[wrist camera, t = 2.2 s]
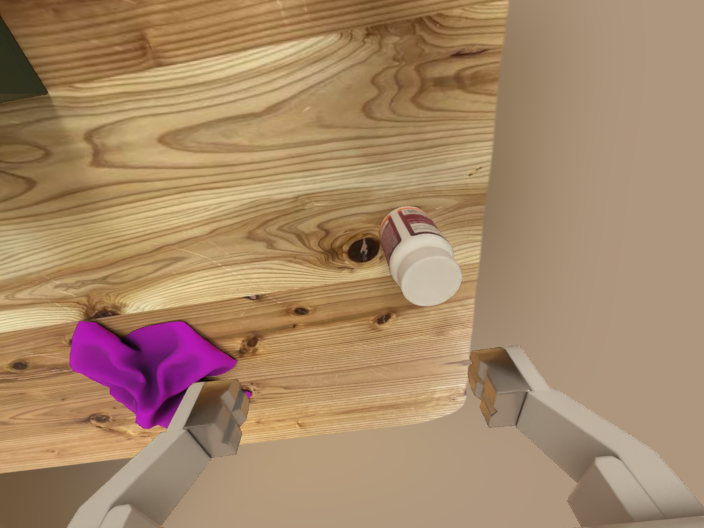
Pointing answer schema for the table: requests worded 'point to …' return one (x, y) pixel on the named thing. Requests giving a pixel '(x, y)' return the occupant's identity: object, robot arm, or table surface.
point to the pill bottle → (419, 257)
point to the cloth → (147, 366)
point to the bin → (16, 71)
